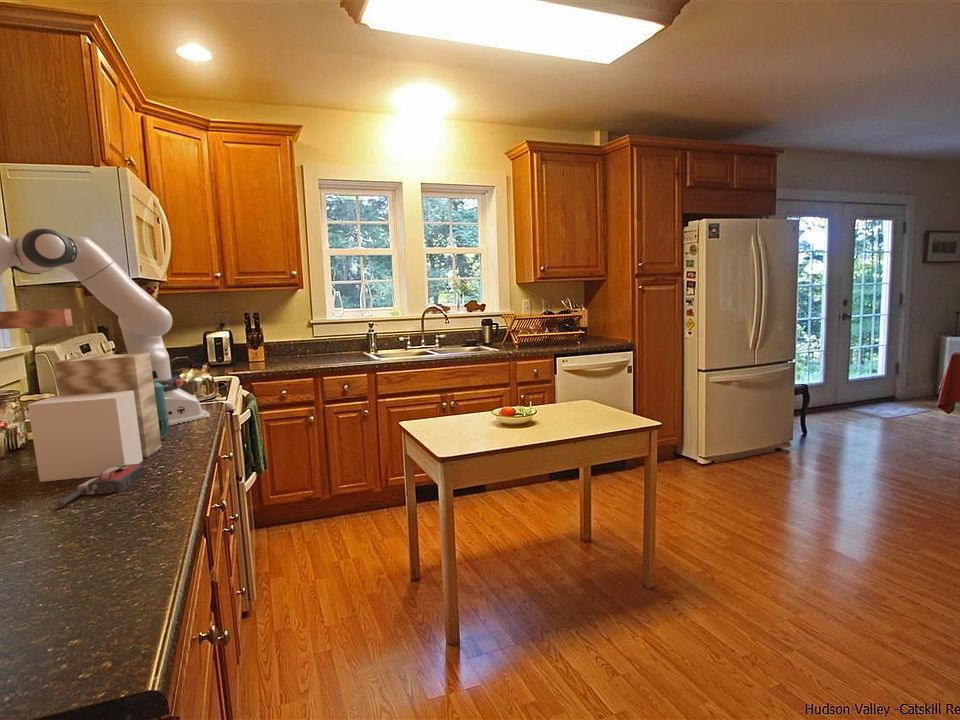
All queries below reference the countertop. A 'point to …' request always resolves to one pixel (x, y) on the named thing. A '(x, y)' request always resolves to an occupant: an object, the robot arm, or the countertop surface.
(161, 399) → the beverage bottle
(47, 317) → the stick
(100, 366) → the stand
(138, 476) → the walkie-talkie
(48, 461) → the plain white box
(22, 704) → the countertop surface
